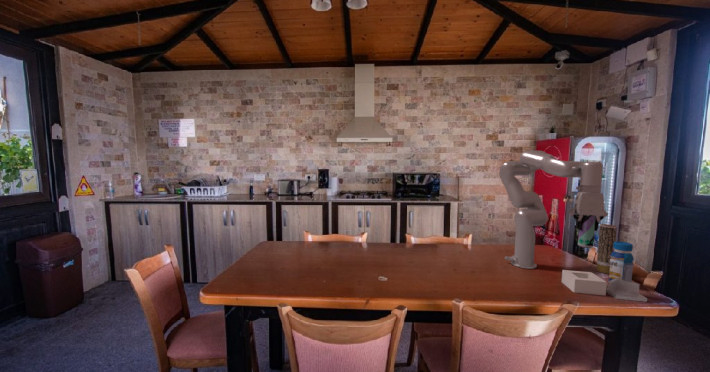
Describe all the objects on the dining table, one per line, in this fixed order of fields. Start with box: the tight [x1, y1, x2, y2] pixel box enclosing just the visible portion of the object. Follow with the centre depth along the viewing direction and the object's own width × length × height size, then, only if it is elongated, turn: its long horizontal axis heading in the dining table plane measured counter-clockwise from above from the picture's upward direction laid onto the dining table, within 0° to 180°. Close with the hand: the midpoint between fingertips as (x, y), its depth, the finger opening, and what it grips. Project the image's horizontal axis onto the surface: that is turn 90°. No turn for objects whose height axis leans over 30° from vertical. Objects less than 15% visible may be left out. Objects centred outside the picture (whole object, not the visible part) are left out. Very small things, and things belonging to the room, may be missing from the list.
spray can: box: [577, 210, 596, 249], centre depth 134 cm, size 6×6×20 cm
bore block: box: [561, 269, 608, 296], centre depth 135 cm, size 12×12×6 cm
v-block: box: [606, 278, 648, 303], centre depth 130 cm, size 11×11×6 cm
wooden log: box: [595, 223, 618, 275], centre depth 157 cm, size 7×7×25 cm
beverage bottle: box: [607, 241, 635, 282], centre depth 140 cm, size 8×8×20 cm
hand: (586, 229), depth 134 cm, fingers closed on spray can, 5 cm apart
